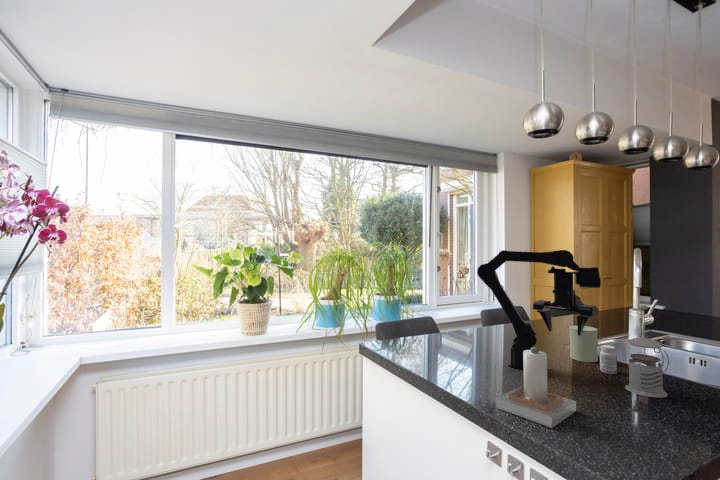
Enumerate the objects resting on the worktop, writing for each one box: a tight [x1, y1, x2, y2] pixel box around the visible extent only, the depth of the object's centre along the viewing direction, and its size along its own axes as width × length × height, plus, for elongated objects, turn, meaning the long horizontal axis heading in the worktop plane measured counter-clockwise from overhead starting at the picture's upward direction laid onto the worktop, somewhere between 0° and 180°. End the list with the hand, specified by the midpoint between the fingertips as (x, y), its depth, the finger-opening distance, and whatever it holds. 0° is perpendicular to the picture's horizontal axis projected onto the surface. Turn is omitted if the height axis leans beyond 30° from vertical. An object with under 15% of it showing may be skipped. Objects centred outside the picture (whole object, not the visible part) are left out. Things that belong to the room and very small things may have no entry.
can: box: [569, 325, 599, 363], centre depth 137 cm, size 9×9×12 cm
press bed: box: [495, 384, 577, 429], centre depth 93 cm, size 14×14×4 cm
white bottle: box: [523, 346, 548, 404], centre depth 94 cm, size 6×6×13 cm
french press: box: [624, 304, 670, 399], centre depth 106 cm, size 10×12×25 cm
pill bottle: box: [599, 344, 618, 375], centre depth 122 cm, size 5×5×8 cm
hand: (564, 333), depth 122 cm, fingers open, 9 cm apart
